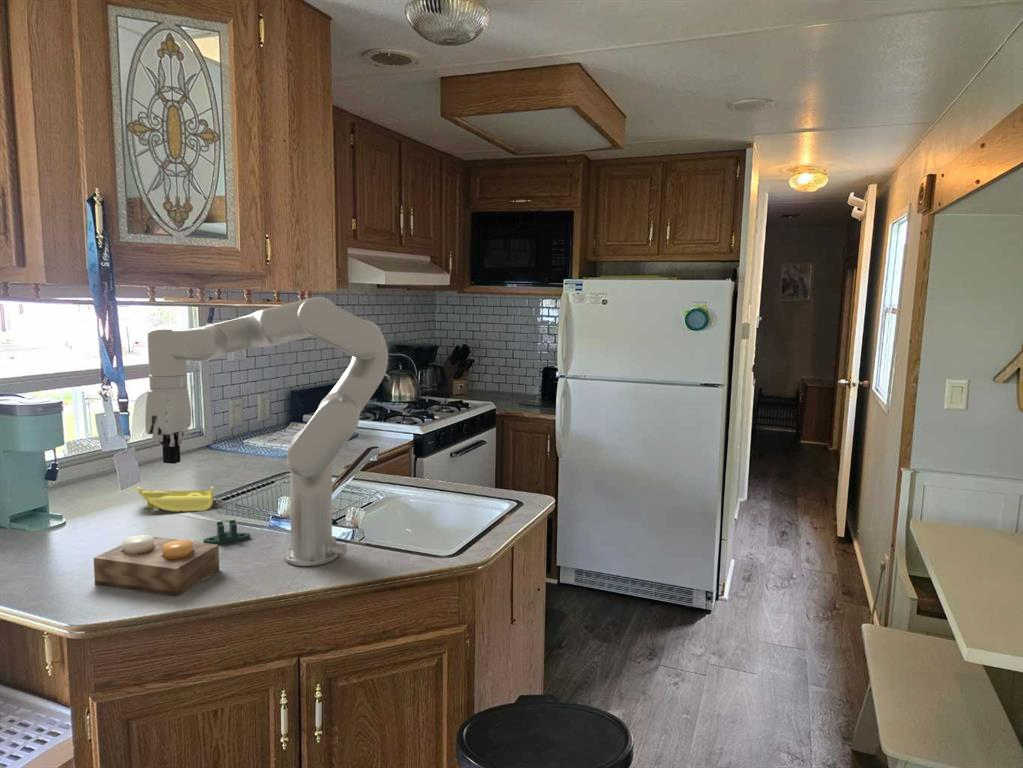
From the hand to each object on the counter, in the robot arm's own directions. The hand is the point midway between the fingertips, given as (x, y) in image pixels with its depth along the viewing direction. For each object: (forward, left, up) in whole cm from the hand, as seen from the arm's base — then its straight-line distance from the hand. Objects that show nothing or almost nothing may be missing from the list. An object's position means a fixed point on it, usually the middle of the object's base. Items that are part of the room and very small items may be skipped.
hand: (171, 462), depth 152 cm
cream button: (+3, +7, -22) cm, 24 cm away
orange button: (-7, +7, -22) cm, 24 cm away
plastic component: (+27, -35, -25) cm, 51 cm away
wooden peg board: (-2, +7, -24) cm, 25 cm away
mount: (-3, -16, -25) cm, 29 cm away
